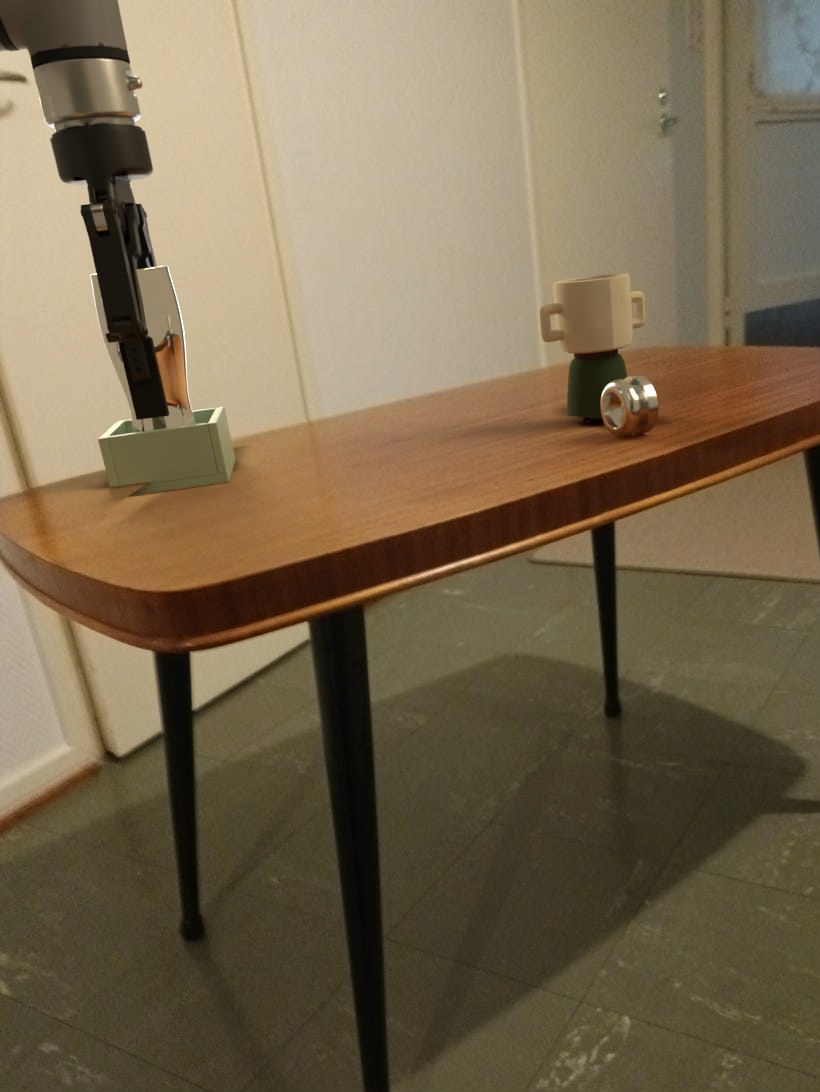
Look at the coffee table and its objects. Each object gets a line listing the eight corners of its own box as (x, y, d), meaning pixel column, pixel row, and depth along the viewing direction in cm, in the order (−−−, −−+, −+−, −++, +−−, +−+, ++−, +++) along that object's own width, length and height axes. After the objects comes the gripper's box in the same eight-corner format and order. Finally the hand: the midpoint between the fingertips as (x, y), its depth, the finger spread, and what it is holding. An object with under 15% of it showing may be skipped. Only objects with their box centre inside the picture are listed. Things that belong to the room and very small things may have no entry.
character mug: (631, 406, 100) (624, 270, 95) (668, 414, 94) (663, 270, 89) (533, 424, 97) (521, 285, 92) (566, 434, 90) (554, 285, 85)
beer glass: (113, 451, 89) (69, 276, 83) (168, 435, 95) (131, 270, 89) (169, 452, 86) (127, 270, 80) (223, 434, 91) (187, 263, 86)
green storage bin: (113, 499, 86) (97, 438, 84) (130, 475, 96) (117, 420, 94) (229, 482, 87) (216, 422, 85) (235, 460, 97) (224, 406, 95)
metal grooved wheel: (659, 436, 85) (657, 377, 83) (631, 442, 84) (627, 383, 82) (626, 429, 89) (623, 373, 87) (599, 435, 88) (595, 378, 86)
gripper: (115, 106, 71) (185, 423, 80) (164, 135, 90) (216, 390, 98) (10, 117, 71) (92, 435, 80) (80, 144, 89) (140, 400, 98)
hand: (160, 410), depth 89 cm, fingers closed on beer glass, 7 cm apart
